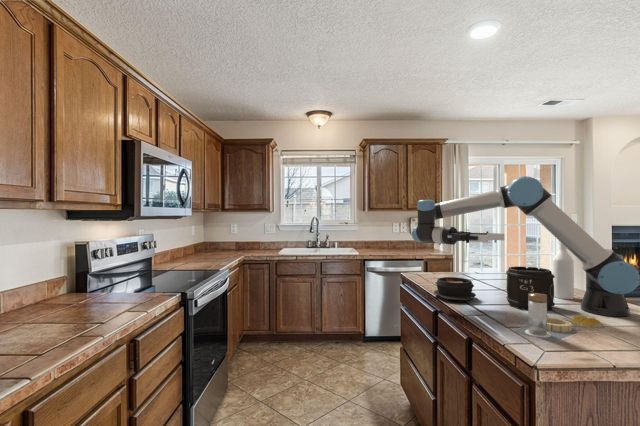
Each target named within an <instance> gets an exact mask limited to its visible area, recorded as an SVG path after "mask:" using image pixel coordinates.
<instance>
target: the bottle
mask: <svg viewBox="0 0 640 426" xmlns="http://www.w3.org/2000/svg"><path fill="white" fill-rule="evenodd" d="M574 268H575V263H574V259H573V258H572V255H571V254H570V253H569V252H568V249H567V248H566V247H565V246H564V245H563V244H562V243H561V242H560V241H559V249H558V251H557V253H556V254H555V255H554V256H553V259H552V274H553V275H554V277H555V278H553V282H554V299H555V298H557V299H560V300H574V299H575V285H574V284H575V276H574V275H575V272H574V271H575V269H574Z"/></svg>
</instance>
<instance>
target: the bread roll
mask: <svg viewBox="0 0 640 426" xmlns="http://www.w3.org/2000/svg"><path fill="white" fill-rule="evenodd" d="M570 322H571V324H573V325H576V326H577V325H578V326H581V327H584V328H592V329H594V328H595V329H596V328H605V327H604V325H603V323H602V322H600V320H598V319H596V318H594V317H587V316H585V315H584V316H583V315H578V316H573V317H572V318H571V319H570Z"/></svg>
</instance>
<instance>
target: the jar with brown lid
mask: <svg viewBox="0 0 640 426" xmlns="http://www.w3.org/2000/svg"><path fill="white" fill-rule="evenodd" d="M527 312H528V321H527V323H528V324H527V325H528V332H529V333H531V334H534V335H539V336H545V335H547V317H548V310H547V295H545V294H540V293H528V310H527Z"/></svg>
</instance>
